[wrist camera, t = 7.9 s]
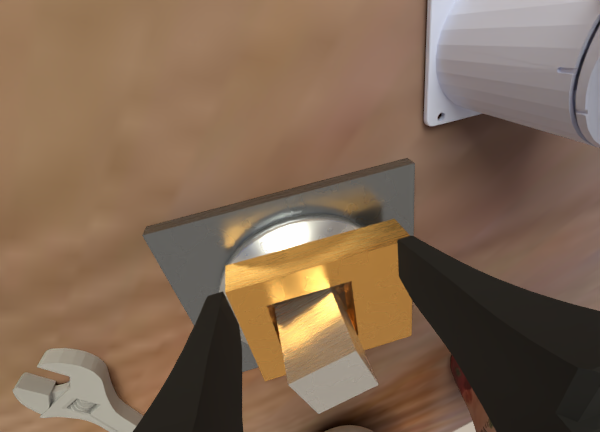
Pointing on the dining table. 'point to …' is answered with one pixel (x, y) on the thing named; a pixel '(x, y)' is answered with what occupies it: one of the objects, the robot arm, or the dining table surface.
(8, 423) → the dining table surface
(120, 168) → the dining table surface
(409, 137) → the dining table surface
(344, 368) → the rectangular block
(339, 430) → the dish
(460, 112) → the robot arm
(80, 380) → the adjustable wrench
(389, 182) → the bracket rosette
